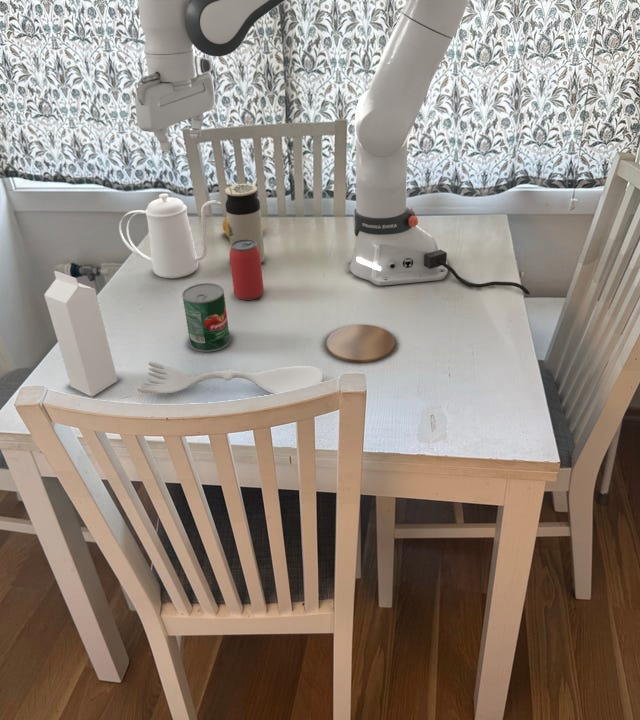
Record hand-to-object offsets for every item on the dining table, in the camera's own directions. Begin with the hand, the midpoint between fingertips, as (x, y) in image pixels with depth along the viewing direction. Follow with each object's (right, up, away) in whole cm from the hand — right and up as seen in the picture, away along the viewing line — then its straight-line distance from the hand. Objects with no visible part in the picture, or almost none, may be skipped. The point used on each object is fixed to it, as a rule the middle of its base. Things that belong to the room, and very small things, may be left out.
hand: (182, 144), depth 132 cm
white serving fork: (+11, -47, -12) cm, 50 cm away
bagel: (+8, -9, +48) cm, 50 cm away
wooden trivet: (+35, -39, -2) cm, 52 cm away
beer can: (+12, -28, +19) cm, 35 cm away
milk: (-14, -47, -8) cm, 49 cm away
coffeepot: (-7, -20, +31) cm, 38 cm away
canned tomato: (+5, -39, +2) cm, 39 cm away
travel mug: (+10, -18, +34) cm, 40 cm away
